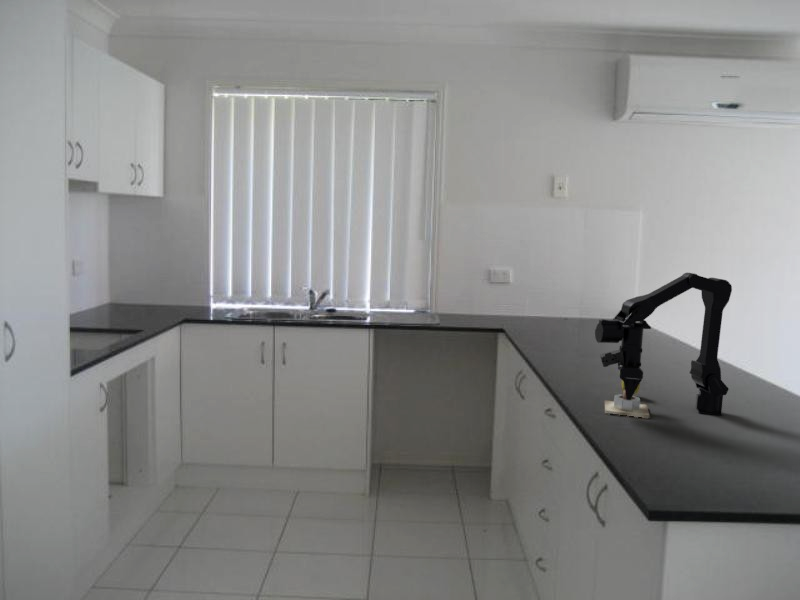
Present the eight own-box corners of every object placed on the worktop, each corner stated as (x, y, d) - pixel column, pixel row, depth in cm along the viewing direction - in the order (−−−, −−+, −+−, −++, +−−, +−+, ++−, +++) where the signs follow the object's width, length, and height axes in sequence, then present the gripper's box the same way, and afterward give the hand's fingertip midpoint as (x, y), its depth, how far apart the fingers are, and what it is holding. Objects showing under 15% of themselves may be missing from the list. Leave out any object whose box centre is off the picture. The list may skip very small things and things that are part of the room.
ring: (638, 405, 214) (638, 395, 213) (639, 411, 207) (640, 401, 207) (613, 403, 215) (614, 393, 215) (614, 409, 209) (615, 399, 208)
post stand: (646, 407, 216) (647, 388, 215) (649, 418, 204) (651, 398, 203) (604, 403, 218) (606, 384, 218) (605, 413, 207) (606, 393, 206)
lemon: (627, 398, 226) (629, 373, 225) (617, 394, 231) (619, 369, 230) (642, 398, 227) (644, 373, 226) (632, 393, 232) (634, 369, 231)
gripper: (602, 336, 220) (598, 386, 222) (603, 346, 202) (599, 400, 204) (640, 339, 217) (636, 389, 219) (645, 350, 199) (640, 405, 201)
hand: (627, 395), depth 211 cm, fingers open, 9 cm apart
